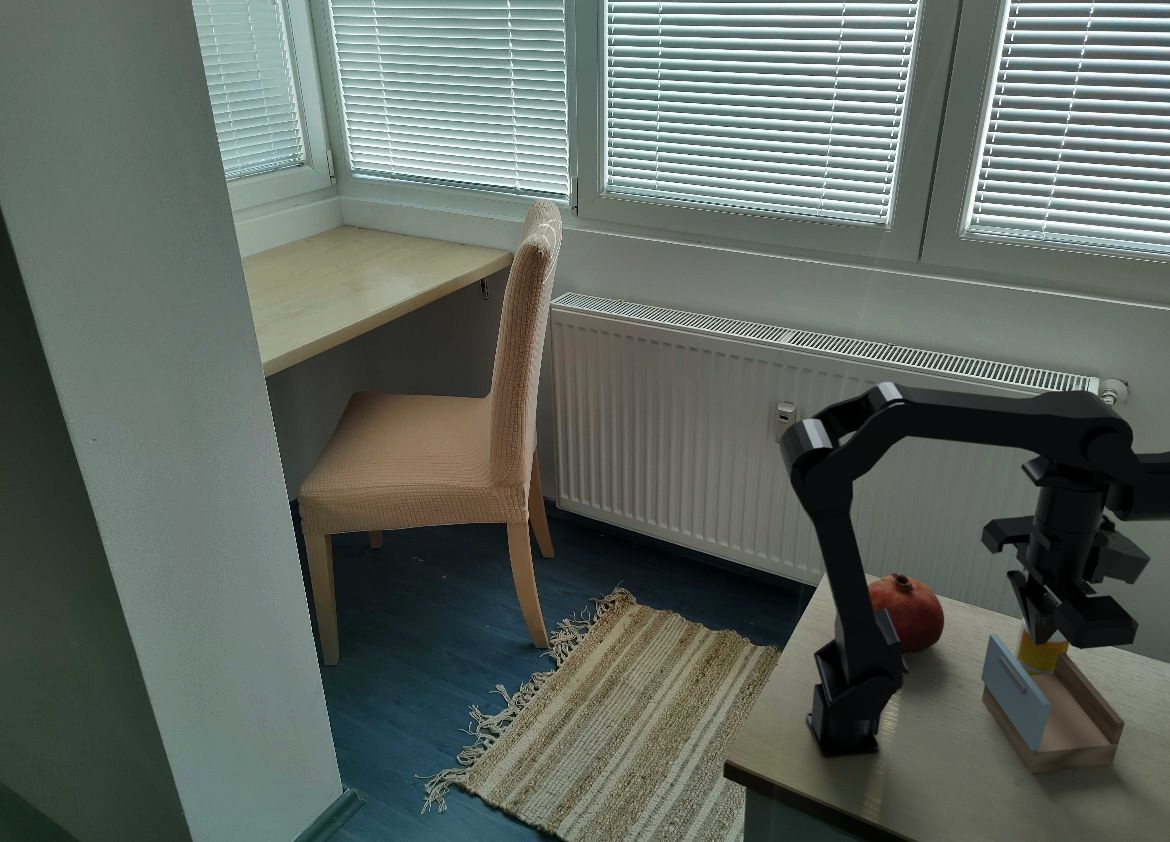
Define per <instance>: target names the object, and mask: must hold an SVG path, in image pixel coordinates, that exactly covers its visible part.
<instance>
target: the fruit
mask: <svg viewBox="0 0 1170 842" xmlns="http://www.w3.org/2000/svg"><path fill="white" fill-rule="evenodd" d="M867 585H868V589H869V593H870V597H871V601H872V605H873V609H874V612H876V611H879V610H882V609H884V608H887V611H888V613H889V615H890V618H891V620H892V622H893V625H894V627H895V630H896V632H897V634H898V637H899V639H900V642H901V646H902V655H905V654H908V655H909V654H910V655H911V654H915V653H916V654H917V653H922V652H925V651H926V650H928V649H929V648H931V647H933V645H936V643H938V642H939V640H940V639H941V636H942V635H943V631H944V629H945V628H944V627H945V614H944V609H943V605H942V604H941V602H940V601H939V599H938V596H937V595H936V594H935V592H934V591H933V590H932V589H931V587H930V586H928V585H927V584H925V583H924V582H923V581H920V580H917V579H915V578H913V577H910V576H906V575H904V574H898V573H891V574H890V575H887V576H885V577H882V578H880V579H877V580H875V581H873V582H871V583H869V584H867Z"/></svg>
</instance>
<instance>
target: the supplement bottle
mask: <svg viewBox="0 0 1170 842" xmlns="http://www.w3.org/2000/svg"><path fill="white" fill-rule="evenodd" d="M1069 646H1070V643H1069V642H1068V641H1067V640H1066V639H1065V637H1064V636H1063V635H1062V634H1061V633H1060V632H1059V630H1057V631H1056V632H1055V633H1054V634H1053V635H1052V636H1051V638H1050V639H1049V640H1048V641H1047V642H1046V643H1045V644H1042V645H1036V644H1035V643H1034V642H1033V641H1032V639H1031V637H1030V634H1029V631H1028V628H1027V625H1026V622H1025V619H1024V617H1023V616H1022V619H1021V624H1020V629H1019V632H1018V637H1017V642H1016V646H1015V647H1016V648H1015V650H1014V654H1013V655H1014V657H1015V658H1016V659H1017V661H1018V662H1019V663H1020V664H1021V666H1022V667H1023V668H1024V670H1025V671H1026V672H1027V674H1028V675H1029V676H1030V675H1040V674H1050V673H1054V669H1055V665H1056V661H1057V657H1058V653H1066V654H1067V653H1068V649H1069ZM1067 655H1068V654H1067Z"/></svg>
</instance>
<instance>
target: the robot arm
mask: <svg viewBox="0 0 1170 842" xmlns="http://www.w3.org/2000/svg"><path fill="white" fill-rule="evenodd" d="M851 433H853V435H852V436H851V437H850V438H849V439H848V440H847V442H845V443H844V444H842V443H841V441H840V439H841V438H843V437H845V436H846V435H848V434H851ZM907 437H911V438H920V439H931V440H940V441H948V442H949V441H950V442H957V443H958V442H959V443H967V444H976V445H977V444H978V445H985V446H986V445H987V446H993V447H995V446H998V447H1003V448H1004V447H1005V448H1014V449H1021V450H1026V451H1028V452H1029V451H1030V452H1032V453H1034V454H1036V455H1038V456H1037V457H1034V458H1031V459H1028V460H1027V461H1026V462H1023V463H1022V464H1021V466H1020V469H1021V470H1022V471H1023V472H1024V474H1025V476H1027V478H1028V479H1029V480H1030V481H1031V482H1032V484H1033V485H1034V486H1035V487H1036V488H1037V487H1039V493H1038V498H1037V503H1036V507H1035V511H1034V514H1032V515H1025V516H1016V517H1003V518H993V519H992V520H989V522H988V523H986V524H985V525H984V526H983V527H982V533H981V538H980V541H981V543H982V544H983V545H984V546H985V547H986V548H987V549H988V551H989V552H990V554H992V555H995V554H996V555H998V554H1000V553H1002V552H1003V550H1004V549H1003V548H1004V545H1013V546H1014V547H1015V549H1016V550H1017V551H1016V556H1014V557H1013V562H1014V563H1015V564H1014V565H1015V566H1014V569H1013V570H1008V571H1006V577H1007V579H1008V580H1009V583H1010V584H1011V587H1012V590H1013V593H1014V595H1015V598H1016V600H1017V602H1018V606H1019V608H1020V611H1021V613H1022V618H1023V617H1024V619H1025V622H1026V625H1027V628H1028V631H1029V634H1030V637H1031V639H1032V641H1033V642H1034V643H1035V644H1036V645H1042V644H1045V643H1046V642H1047V641H1048V640H1049V639H1050V638H1051V636H1052V635H1053V634H1054V633H1055V632H1056V631H1057V630H1059V632H1060V633H1061V634H1062V635H1063V636H1064V637H1065V639H1066V640H1067V641H1068V642H1069V645H1070V646H1072V647H1074V648H1076V649H1080V650H1084V649H1085V650H1087V649H1095V648H1107V647H1116V646H1125V645H1127V646H1128V645H1134V642H1135V640H1136V636H1137V632H1138V630H1139V626H1140V624H1139V622H1138V621H1136V619H1135V618H1134V617H1133V616H1131V614H1129V613H1128V611H1127V610H1126V609H1125V608H1124V607H1122V605H1121V604H1119V602H1118V601H1117V600H1116V599H1114V598H1113V596H1112V595H1109V594H1108V595H1100V596H1097V593H1098V592H1097V591H1096V590H1095V589H1094V588H1093V587H1092V586H1091V585H1094V584H1096V585H1097V584H1103V582H1104V579H1105V577H1106V578H1110V579H1113V580H1118V581H1123V582H1124V583H1125V584H1127V585H1134V584H1136V581H1137V580H1138V578H1139V577H1140V576H1141V575H1142V573H1143V571H1144V570H1145V568H1146V567H1147V566H1148V564H1149V562H1150V561H1151V557H1150V556H1149V555H1148V554H1147V553H1146V552H1145V551H1144V550H1143V549H1141V548H1140V547H1139V546H1138V545H1137V544H1136V543H1135V542H1134V541H1132V540H1131V539H1130V538H1128V537H1127V536H1125V535H1123V534H1122V533H1121V532H1120V531H1119V530H1117V529H1116V523H1115V521H1114V520H1112V519H1111V518H1110V517H1109V516H1108V515H1107V514H1105V513H1104V510H1105V508H1106V510H1107V511H1110V512H1112V513H1113V515H1114V517H1115V518H1116V519H1118V520H1119V521H1121V522H1170V451H1164V452H1153V453H1146V452H1145V453H1135V452H1134V450H1133V449H1132V445H1133V441H1134V431H1133V429H1132V427H1131V425H1130V424H1129V422H1128V421H1126V419H1124V418H1123V417H1122V416H1121V415H1120V414H1119V413H1118V412H1117V411H1116V410H1114V409H1113V408H1112V407H1111V406H1110V405H1109V404H1108V403H1106V401H1104V400H1103V399H1102V398H1101V397H1100V396H1098V395H1097V394H1096V393H1095V392H1092V391H1089V390H1084V389H1077V390H1076V389H1074V390H1072V389H1071V390H1056V391H1054V390H1053V391H1052V390H1051V391H1046V392H1043V393H1040V394H1038V395H1034V396H1033V397H1022V398H1018V397H1017V398H1016V397H1008V396H1007V397H1006V396H999V395H998V396H997V395H988V394H978V393H970V392H960V391H952V390H942V389H933V388H922V387H914V386H905V385H901V384H899V383H897V382H890V381H886V382H885V381H884V382H883V381H882V382H880V383H878V384H875V385H874V386H872V387H871V388H869V389H868V390H866V391H865V392H863V393H861V394H860V395H858V396H855V397H852V398H851V397H850V398H848V399H846V400H842V401H839V402H836V403H831V404H829V405H828V406H826V407H825V408H823V409H822V410H819V412H817V413H815V414H814V415H813V416H811V417H809V418H807V419H801V420H799V421H797V422H795V423H793V424H791V425H790V426H789V427H788V428H786V430H785V431H784V433H783V434H782V435H781V436H780V438H779V443H778V444H779V452H780V455H781V458H782V461H783V464H784V467H785V471H786V473H787V476H788V479H789V482H790V484H791V487H792V489H793V491H794V493H795V495H796V497H797V498H798V501H799V503H800V504H801V507H802V509H803V510H804V512H805V514H806V515H807V517H808V519H809V520H810V521H811V524H812V527H813V530H814V533H815V537H816V541H817V542H816V543H817V546H818V549H819V552H820V556H821V560H822V563H823V567H824V570H825V574H826V577H827V581H828V585H829V588H830V589H829V590H830V592H831V595H832V599H833V603H834V607H835V610H836V611H835V613H836V614H835V615H836V616H835V621H834V638H833V639H831V641H829V642H828V643H826V644H824V645H823V646H822V647H820V649H818V650H816V651H815V652H814V653H813V657H814V662H815V664H816V668H817V673H818V675H819V679H820V682H821V683H817V684H814V686H813V695H812V696H813V697H812V708H811V711H807V712H806V714H805V719H806V721H807V724H808V725H809V728H810V730H811V733H812V735H813V737H814V740H815V742H816V744H817V746H818V749H819V752H820V755H821V756H822V757H824V758H835V757H836V758H837V757H844V756H845V757H846V756H855V755H865V754H874V753H878V752H879V751H880V745H879V743H878V741H877V738H876V737H875V736H878V735H879V731H880V722H881V718H882V717H881V716H882V713H883V711H884V709H885V708H886V705H888V702H890V700H891V698H892V697H893V695H895V694H896V693H897V692H898V691H899V690H902V688H903V686H904V675H903V674H905V675H909V674H910V671H909V669H908V666H907V663H906V662H905V659H904V657H903V654H902V646H901V642H900V639H899V637H898V634H897V632H896V630H895V627H894V625H893V622H892V620H891V618H890V615H889V613H888V611H887V608H884V609H882V610H879V611H876V612H874V609H873V605H872V601H871V597H870V593H869V589H868V585H869V584H868V582H867V577H866V575H865V574H866V573H865V569H864V565H863V561H862V558H861V555H860V550H859V546H858V542H857V538H856V535H855V534H856V533H855V530H854V526H853V521H852V519H851V518H852V517H851V512H852V506H853V501H854V483H853V482H854V481H856V480H857V479H859V478H862V476H864V475H865V474H867V473H869V472H870V471H871V469H872V468H874V467H875V465H876V464H877V463H878V462H879V461H880V460H881V459H882V458H883V457H884V455H885V454H886V453H887V452H888V451H889V449H890V448H892V446H893V445H895V444H896V443H898V442H899V441H902V440H903V439H905V438H907Z"/></svg>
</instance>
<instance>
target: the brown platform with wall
mask: <svg viewBox="0 0 1170 842" xmlns="http://www.w3.org/2000/svg"><path fill="white" fill-rule="evenodd" d="M1030 677H1031V679H1032V680H1033V681H1034V683H1035V684H1036V685H1037V687H1038V688H1039V689H1040V690H1041V692H1042V693H1043V694H1044V696H1045V697H1046V698H1047V700H1048V701H1049V702H1050V703H1051V705H1050V709H1049V713H1048V717H1047V721H1046V725H1045V729H1044V733H1043V737H1042V741H1041V745H1040V749H1039V750H1038V751H1031V749H1030V748H1029V746H1028V745H1027V743H1026V742H1025V741H1024V739H1023V738H1022V736H1021V735H1020V733H1019V732H1018V731H1017V729H1016V728H1015V726H1014V725H1013V723H1012V722H1011V721H1010V719H1009V718H1008V716H1007V715H1006V713H1005V712H1004V710H1003V709H1002V708H1001V706H1000V705H999V703H998V702H997V700H996V699H995V698H994V696H993V695H992V693H991V692H990V690H989V689H988V688H987V686H986V685H985V684H984V687H983V692H982V696H981V700H982V702H983V704H984V705H985V706H986V708H987V709H988V711H989V712H990V714H991V716H992V717H993V719H995V721H996V722H997V724H998V726H999V728H1001V730H1002V731H1003V733H1004V734H1005V736H1006V738H1007V739H1008V740H1009V742H1010V743H1011V745H1012V746H1013V748H1014V749H1015V751H1016V752H1017V753H1018V755H1019V757H1020V758H1021V759H1022V761H1023V763H1024V764H1025V765H1026V767H1027V768H1028V770H1029V771H1030V773H1031V774H1033V773H1034V774H1036V773H1047V772H1054V771H1061V770H1062V771H1063V770H1072V769H1073V770H1074V769H1082V768H1090V767H1092V768H1093V767H1100V766H1109V765H1113V763H1114V760H1115V757H1116V753H1117V750H1118V746H1119V744H1120V740H1121V736H1122V733H1123V730H1124V727H1125V724H1126V722H1125V721H1124V720H1123V719H1122V718H1121V717H1120V715H1119V714H1118V713H1117V712H1116V711H1115V709H1114V708H1113V707H1112V706H1111V704H1109V703H1108V701H1107V700H1106V699H1105V697H1104V696H1103V695H1102V694H1101V693H1100V692H1099V690H1098V689H1097V688H1096V687H1095V686H1094V685H1093V683H1092V682H1091V681H1090V680H1089V679H1088V677H1087V676H1086V675H1085V674H1084V673H1083V672H1082V671H1081V669H1080V668H1079V666H1077V665H1076V663H1075V662H1074V661H1073V660H1072V659H1071V658H1070V656H1069V655H1068V654H1066V653H1058V657H1057V661H1056V665H1055V669H1054V673H1050V674H1040V675H1030Z"/></svg>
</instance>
